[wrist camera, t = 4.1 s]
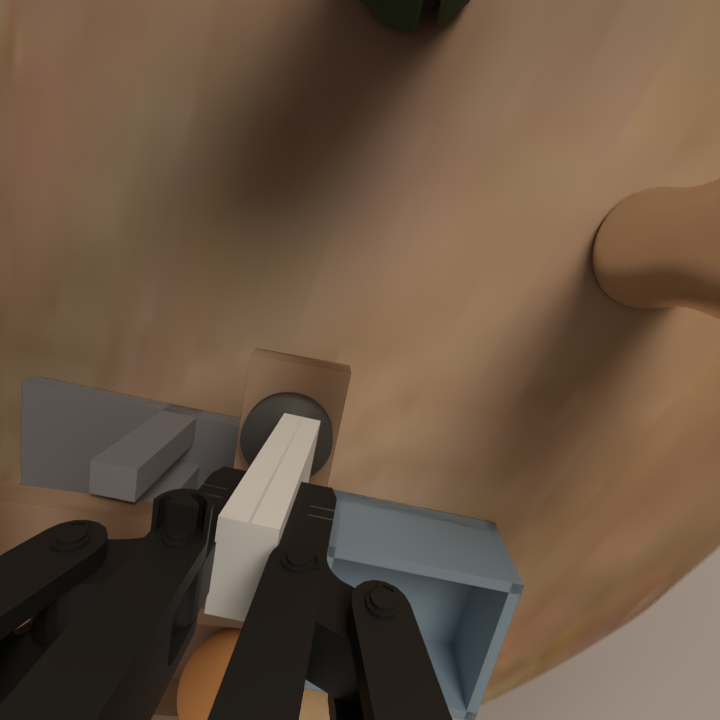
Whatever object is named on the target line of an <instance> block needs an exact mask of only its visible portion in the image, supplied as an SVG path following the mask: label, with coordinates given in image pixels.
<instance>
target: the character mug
mask: <svg viewBox="0 0 720 720" xmlns="http://www.w3.org/2000/svg"><path fill="white" fill-rule="evenodd" d="M361 1H362V2H363V3H364V4H365V5H366V6H367V7H368V8H369V9H370V10H371V11H372V12H373V13H374V14H375V15H376V16H377V17H378V18H379V19H380V21H381V22H382V23H385V24H388V25H391V26H394V27H397V28H400V29H403V30H406V31H409V32H411V31H414V30H417V29H418V24H419V19H420V14H421V9H422V8H425V9H429V8H431V7H432V6H434V5H436V4H437V3H439V2H440V7H439V14H438V20H437V25H441V24H445V23H446V22H447V21H448V20H449V19H450V18H451V17H453V16H454V15H455V14H456V13H457V12H458V11H459V10H460V9H462V8H463V7H464V6H465V5H466V4H467V3H468V2H469V0H361Z"/></svg>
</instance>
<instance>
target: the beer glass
mask: <svg viewBox="0 0 720 720" xmlns="http://www.w3.org/2000/svg"><path fill="white" fill-rule="evenodd" d="M592 263H593V270H594V273H595V276H596V279H597V281H598V283H599V285H600V286H601V288H602V289H603V290H604V292H605V293H606V294H607V295H608V296H610V297H611V298H612V299H614V300H615V301H617V302H619V303H620V304H623V305H625V306H628V307H632V308H638V309H658V308H668V307H686V308H690V309H694V310H697V311H700V312H703V313H706V314H708V315H711V316H713V317H716V318H718V319H720V178H719V179H716V180H714V181H712V182H709V183H705V184H702V185H698V186H693V187H655V188H650V189H646V190H643V191H640V192H638V193H635V194H633V195H632V196H630V197H628V198H627V199H625V200H624V201H622V202H621V203H620V204H618V205H617V206H616V207H615V208H614V209H613V210H612V211H611V212H610V213H609V215H608V216H607V217H606V218H605V220H604V221H603V223H602V225H601V226H600V228H599V230H598V233H597V235H596V238H595V241H594V246H593V252H592Z"/></svg>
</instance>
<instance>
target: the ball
mask: <svg viewBox="0 0 720 720" xmlns="http://www.w3.org/2000/svg"><path fill="white" fill-rule="evenodd" d="M240 631H241V629H229V630H224V631H222V632H219V633H217V634H215V635H213V636H211V637H210V638H208V639H207V640H206V641H204V642H203V643H202V644H201V645H200V646H199V647H198V648H197V649H196V650H195V651H194V653H193V654H192V655H191V657H190V658H189V660H188V662H187V664H186V665H185V667H184V670H183V672H182V675H181V677H180V681H179V685H178V691H177V712H178V717H179V720H207V719H208V716H209V713H210V711H211V708H212V705H213V703H214V700H215V698H216V695H217V692H218V690H219V687H220V684H221V682H222V679H223V676H224V674H225V671H226V668H227V666H228V663H229V660H230V658H231V655H232V653H233V650H234V647H235V645H236V642H237V639H238V637H239V634H240Z"/></svg>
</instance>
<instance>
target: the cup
mask: <svg viewBox="0 0 720 720" xmlns="http://www.w3.org/2000/svg"><path fill="white" fill-rule="evenodd" d="M334 493H335V495H336V498H337V502H336V507H335V513H334V518H333V524H332V529H331V535H330V541H329V546H328V552H327V562H328V565H329V567H330V569H331V571H332V572H333V573H334V574H335V575H336V576H337V577H338V578H339V579H340V580H342V581H343V582H345V583H347V584H349V585H350V586H352V587H354V588H356V586H358V585H359V584H361V583H362V582H364V581H370V580H379V581H384V582H387V583H389V584H391V585H393V586H395V587H397V588H398V589H399V590H400V591H401V592H402V593H403V594H405V596H406V598H407V599H408V601H409V603H410V604H411V607H412V610H413V613H414V615H415V618H416V621H417V624H418V626H419V629H420V632H421V635H422V637H423V640H424V643H425V646H426V648H427V651H428V654H429V657H430V659H431V662H432V665H433V668H434V670H435V673H436V676H437V679H438V681H439V684H440V687H441V690H442V692H443V695H444V698H445V701H446V704H447V706H448V709H449V712H450V715H451V717H454V718H459V719H464V720H475V717H476V715H477V712H478V710H479V707H480V704H481V701H482V699H483V696H484V693H485V690H486V688H487V685H488V682H489V679H490V677H491V674H492V671H493V669H494V666H495V663H496V660H497V658H498V655H499V652H500V649H501V647H502V644H503V641H504V639H505V636H506V633H507V630H508V628H509V625H510V622H511V619H512V617H513V614H514V611H515V609H516V606H517V603H518V600H519V598H520V595H521V592H522V589H523V587H524V584H523V582H522V580H521V578H520V576H519V574H518V571H517V569H516V567H515V565H514V563H513V561H512V559H511V556H510V554H509V552H508V550H507V548H506V546H505V544H504V542H503V539H502V537H501V535H500V533H499V531H498V529H497V527H496V525H495V523H493V522H488V521H483V520H478V519H473V518H468V517H463V516H459V515H454V514H449V513H444V512H439V511H434V510H429V509H424V508H419V507H415V506H410V505H405V504H400V503H395V502H390V501H385V500H380V499H376V498H371V497H366V496H361V495H356V494H351V493H346V492H341V491H336V490H334ZM304 688H305V689H311V690H316V691H321V692H325V691H323V690H322V689H320V688H318V687H317V686H315V685H314V684H312V683H310V682H309V681H307V680H305V686H304Z"/></svg>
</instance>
